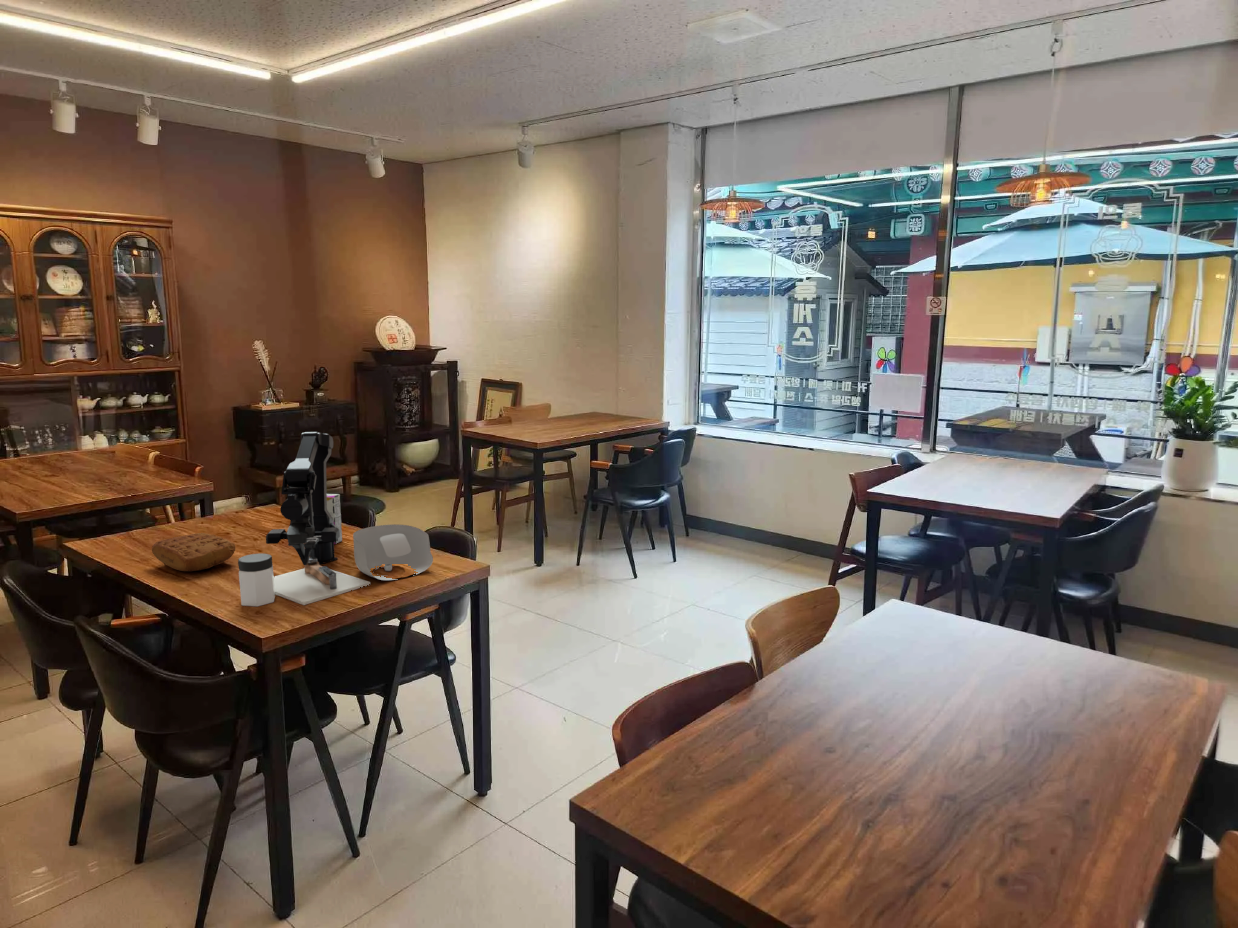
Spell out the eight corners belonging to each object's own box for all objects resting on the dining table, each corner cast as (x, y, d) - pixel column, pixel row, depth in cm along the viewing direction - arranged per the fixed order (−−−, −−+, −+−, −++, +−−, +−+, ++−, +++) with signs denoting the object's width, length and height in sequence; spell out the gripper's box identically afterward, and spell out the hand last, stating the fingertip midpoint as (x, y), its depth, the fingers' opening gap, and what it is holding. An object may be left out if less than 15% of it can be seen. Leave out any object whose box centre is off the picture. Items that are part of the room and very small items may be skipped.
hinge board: (317, 567, 238) (317, 564, 238) (370, 584, 223) (370, 581, 223) (251, 585, 222) (251, 582, 222) (303, 605, 207) (303, 602, 206)
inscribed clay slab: (149, 565, 239) (146, 540, 238) (205, 552, 253) (203, 528, 251) (186, 579, 227) (183, 552, 225) (243, 564, 240) (241, 539, 239)
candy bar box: (304, 543, 263) (301, 495, 260) (311, 539, 268) (308, 492, 265) (336, 544, 262) (333, 496, 259) (343, 540, 267) (340, 493, 264)
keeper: (315, 569, 233) (314, 556, 233) (342, 587, 218) (341, 573, 217) (304, 571, 231) (303, 558, 231) (330, 590, 216) (329, 575, 215)
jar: (267, 593, 215) (264, 551, 213) (282, 600, 210) (279, 556, 208) (234, 601, 209) (230, 558, 207) (248, 609, 203) (245, 564, 201)
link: (302, 570, 231) (302, 562, 231) (316, 568, 234) (316, 560, 234) (323, 585, 218) (323, 577, 218) (338, 582, 221) (337, 574, 221)
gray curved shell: (404, 557, 249) (402, 521, 247) (435, 571, 235) (433, 533, 233) (342, 570, 236) (340, 532, 234) (371, 586, 222) (369, 545, 220)
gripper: (257, 519, 212) (262, 575, 214) (330, 517, 214) (333, 572, 217) (269, 509, 222) (273, 562, 225) (338, 507, 225) (341, 560, 228)
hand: (305, 564), depth 223 cm, fingers closed
